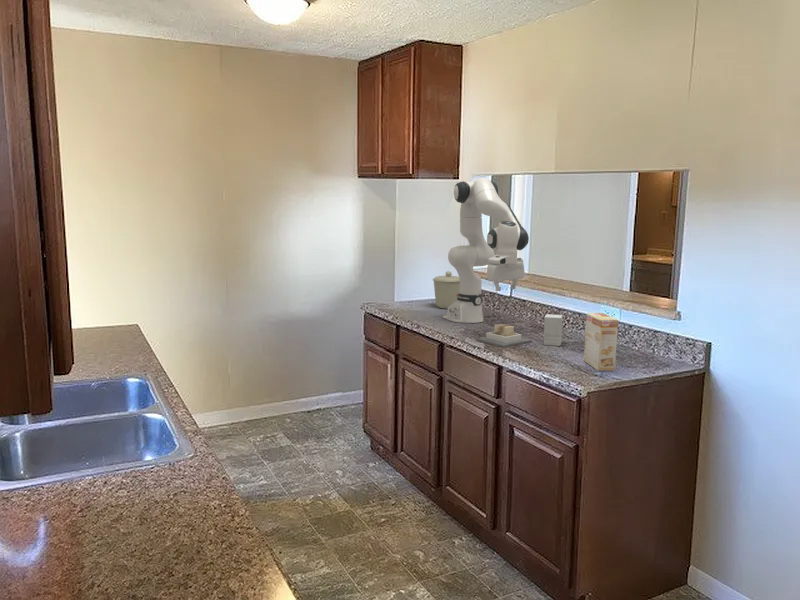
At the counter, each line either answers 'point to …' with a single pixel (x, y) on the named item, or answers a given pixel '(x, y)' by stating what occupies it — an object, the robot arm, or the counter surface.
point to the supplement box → (553, 329)
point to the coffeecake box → (601, 341)
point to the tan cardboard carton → (504, 330)
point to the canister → (446, 290)
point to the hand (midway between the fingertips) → (505, 289)
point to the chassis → (503, 339)
